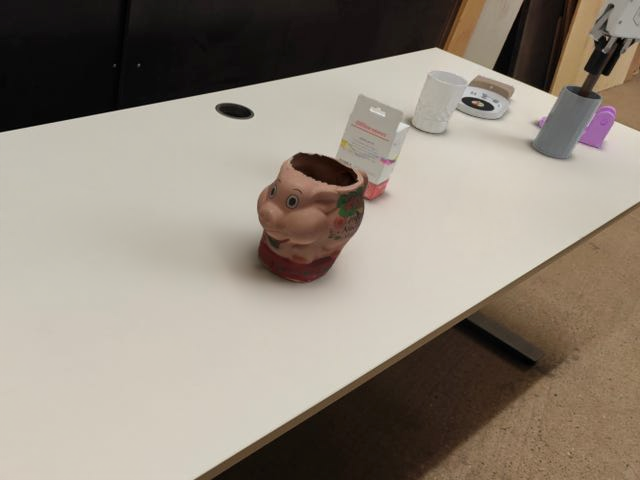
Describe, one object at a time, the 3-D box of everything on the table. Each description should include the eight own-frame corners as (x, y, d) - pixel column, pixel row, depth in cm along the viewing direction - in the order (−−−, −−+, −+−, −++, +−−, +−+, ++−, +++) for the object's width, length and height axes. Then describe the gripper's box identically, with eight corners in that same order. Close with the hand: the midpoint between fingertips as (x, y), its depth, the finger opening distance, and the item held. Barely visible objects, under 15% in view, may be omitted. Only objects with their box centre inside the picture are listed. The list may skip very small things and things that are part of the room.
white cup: (448, 126, 140) (470, 77, 133) (443, 138, 134) (466, 89, 128) (411, 114, 142) (431, 66, 135) (405, 126, 136) (425, 77, 129)
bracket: (600, 140, 147) (619, 109, 142) (598, 147, 143) (618, 116, 139) (540, 120, 151) (557, 89, 146) (537, 127, 147) (554, 96, 142)
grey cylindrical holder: (576, 158, 137) (611, 100, 129) (548, 158, 135) (582, 99, 126) (552, 142, 142) (584, 85, 134) (524, 141, 140) (555, 84, 132)
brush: (581, 130, 134) (630, 47, 123) (564, 130, 132) (612, 45, 122) (566, 121, 137) (612, 38, 126) (549, 121, 135) (594, 37, 125)
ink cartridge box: (384, 193, 112) (420, 107, 102) (370, 201, 109) (405, 113, 100) (341, 171, 116) (372, 86, 106) (326, 179, 113) (356, 92, 103)
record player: (521, 88, 156) (501, 110, 143) (515, 101, 158) (494, 124, 145) (473, 71, 160) (449, 92, 147) (467, 84, 162) (443, 106, 149)
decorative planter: (305, 219, 102) (334, 131, 93) (372, 258, 96) (411, 169, 87) (219, 259, 90) (243, 164, 81) (290, 307, 85) (324, 210, 75)
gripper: (639, -34, 110) (577, 79, 123) (707, -26, 115) (641, 82, 127) (605, -46, 115) (549, 64, 128) (673, -38, 120) (612, 67, 132)
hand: (596, 72), depth 127 cm, fingers closed on brush, 2 cm apart
